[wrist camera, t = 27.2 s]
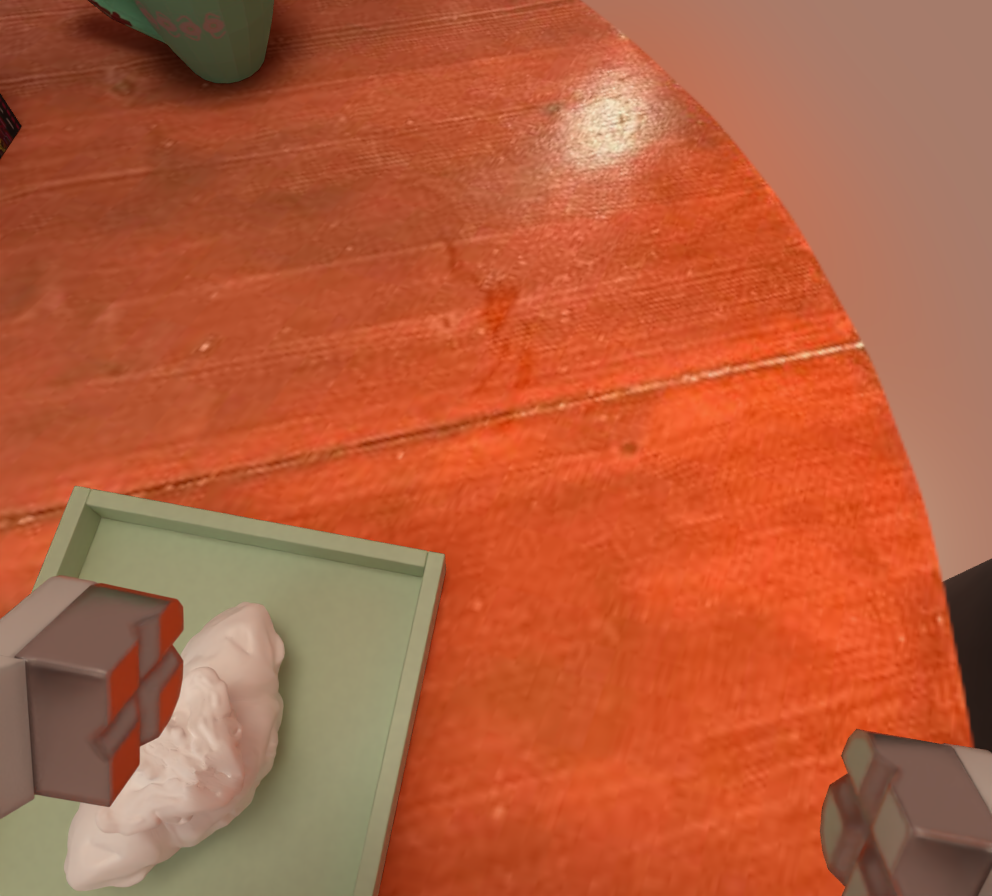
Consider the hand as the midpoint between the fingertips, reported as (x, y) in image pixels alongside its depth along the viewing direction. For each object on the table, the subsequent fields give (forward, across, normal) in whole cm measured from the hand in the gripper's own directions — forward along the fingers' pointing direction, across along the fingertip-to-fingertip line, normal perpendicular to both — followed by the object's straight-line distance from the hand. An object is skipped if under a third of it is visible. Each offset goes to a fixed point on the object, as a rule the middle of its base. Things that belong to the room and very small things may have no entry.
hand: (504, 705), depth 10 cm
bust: (+20, +12, +21) cm, 31 cm away
